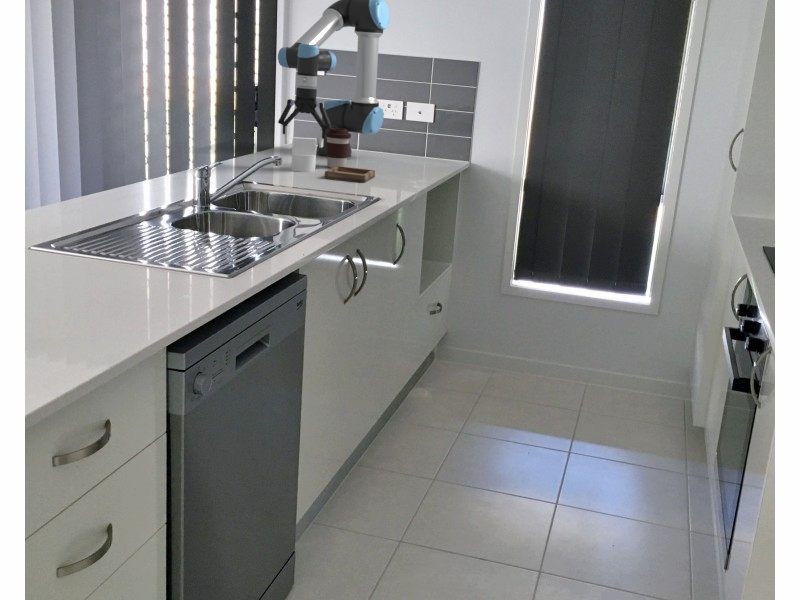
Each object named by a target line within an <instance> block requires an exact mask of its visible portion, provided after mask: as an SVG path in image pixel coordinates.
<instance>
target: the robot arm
mask: <svg viewBox="0 0 800 600" xmlns="http://www.w3.org/2000/svg"><path fill="white" fill-rule="evenodd" d="M390 18H391V16H390V9H389V6H388V4H387V3H386V2H385V1H384V0H337V1H335V2H333V3H332V4H330V5H329V6H328V7H327V8H326V9H324V11H323V12H322V16H321V17H320V18H319V19H318V20H317V21H316V22H315V23H314V24H313V25H312V26H311V27H310V28H308V30H307V31H306V32H305V33H304V34H303V35H302V36H301V37H299V38H298V39H297V41H295V43H293V44H292V45H291V46H290V47H289V46H284V47H281V48H280V49H279V50H278V53H277V60H278V64H279V65H280V66H281V67H282V68H288V69H296V71H297V72H296V86H297V87H296V89H295V100H294V99H293V98H288V99H287V100H286V105H285V107H284V110H283V111H282V114H281V116H280V117H279V118H278V121H277V123H278V124H279V125H281V126H282V134H283V135H284V144H285V145H286V144H290V125H289V124H290V123H291V122H292V120H293V119H294V118H296V117H297V115H298V114H299V113H301V114H311V115H312V116H313V118H314V120H315V121H316V122H317V124H318V125H319V127H320V128H321V129H320V130H319V141H318V143H317V145H316V155H319V156H324V157H327V146H326V142H327V137H326V132H329V129H330V128H342V129H347V131H348V133H354V134H355V133H357V134H362V135H375V134H377V133H378V132H379V131H380V129H381V127H382V125H383V123H384V120H385V119H384V117H385V115H384V110H383V108H382V107H381V106H380V101H379V99H377V97H376V96H377V80H378V64H379V62H378V61H379V42H380V37H381V36H383V34H384V30H386V29H387V28H388V26H389V24H390ZM345 27H346V28H348V27H349V28H350V27H352V28H354V34H356V36H357V49H356V50H357V51H356V52H357V53H356V70H355V71H356V72H355V90H354V91H355V94H354V97H353V98H352V99H351V100H350V99H340V100H337V99H336V100H326V101H324V102H323V101H322V102H317V94H318V93H317V87H318V72H325V73H327V72H331V71H333V70H334V69H335V67H336V66H337V57H336V54H334V52H332V51H329V50H322V49H321V50H320V47H321V46H322V45H323V44H324V43H325V42H326V41H327V40H328V39H329V38H330V37H331V36H332V35H334V33H335V32H338V31H341V30H342V29H343V28H345ZM294 105H295V107H296V108H295V109H294V110H293V111H292V112H291V114H290V115H289V116H288V114H289V113H290V111H291V108H292V107H293V106H294ZM316 108H318V109H319V111H320V114H321V117H320V115H319V113H318V112H317V110H316ZM287 116H288V117H287ZM352 153H353V152H352V146H351V143H350V141H349V150H348V157H347V158H349V157H352Z"/></svg>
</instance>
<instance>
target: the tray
mask: <svg viewBox="0 0 800 600" xmlns="http://www.w3.org/2000/svg"><path fill="white" fill-rule="evenodd" d="M375 177H376V170H374V169H367V168H356V167H349V166H346V167H341V166H336V167H334V168H329V169H327V170H325V171H324V179H326V180H328V179H329V180H335V179H336V181H344V182H345V181H346V182H353V183H362V184H365V183H366V182H368V181H370V180H372V179H373V178H375Z"/></svg>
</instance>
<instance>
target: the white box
mask: <svg viewBox="0 0 800 600" xmlns="http://www.w3.org/2000/svg"><path fill="white" fill-rule="evenodd" d="M291 146H292V147H291V167H290V168H291V171H294V172H300V173H313V171H314V172H316V162H317V161H316V160H317V159H316V158H317V153H316V152H317V138H316V137H301V136H299V137H298V136H292V145H291Z"/></svg>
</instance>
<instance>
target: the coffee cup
mask: <svg viewBox="0 0 800 600" xmlns="http://www.w3.org/2000/svg"><path fill="white" fill-rule="evenodd" d="M326 137H327V142H326V146H327V156H326V158H327V159H326V160H327V161H326V162H327V163H326V164H327V167H328V168H329V169H331V168H334V167H336V166H341V167H347V161H348V158H349V157H348V150H349V142H350V139H352V138H351V137H352V134H351V132H349V133H348V131H347V129H342V128H330V129H329V132H326Z"/></svg>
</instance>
